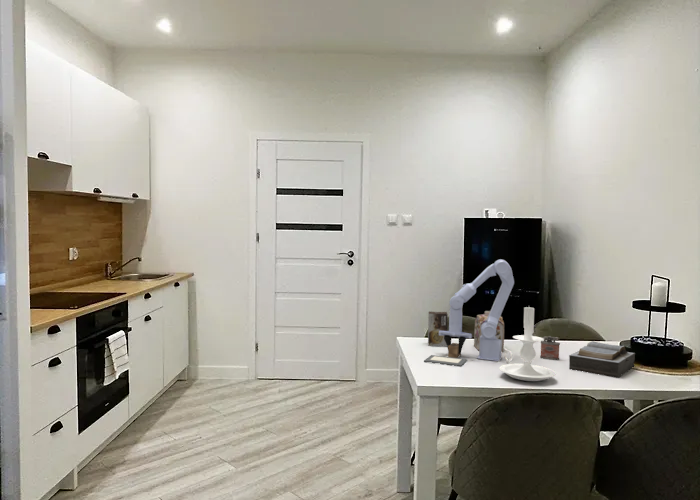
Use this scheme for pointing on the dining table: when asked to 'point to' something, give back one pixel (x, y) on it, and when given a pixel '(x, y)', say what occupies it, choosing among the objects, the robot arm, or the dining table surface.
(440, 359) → the picture frame
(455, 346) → the card box
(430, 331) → the coffee box
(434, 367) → the dining table surface
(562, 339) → the dining table surface
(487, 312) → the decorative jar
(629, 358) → the bible
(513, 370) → the candlestick
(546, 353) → the lighter
